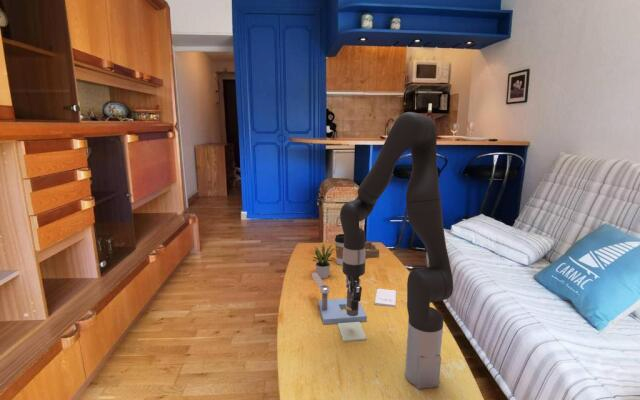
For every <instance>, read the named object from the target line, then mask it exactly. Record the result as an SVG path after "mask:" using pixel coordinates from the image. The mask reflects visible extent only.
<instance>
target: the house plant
mask: <svg viewBox="0 0 640 400" xmlns="http://www.w3.org/2000/svg"><path fill="white" fill-rule="evenodd" d="M335 244H336V242H335V243H331V245H329V246H328V247H327V249H326V247H325V244H324V243H323V242H321V244H320V243H319V242H318V245H319V246H320V249H321V251H320V250H319V248H318V247H317V246H316V245H314V244H312V246H313V247H314V249H315V251H314V256H313V255H311V257H312V258H314V259H312V260H311V261H312V262H315V270H316V272H317V274H318V275H319V277H320V278H321V279H322V280H323V279H327V278H329V274H330V268H331V262H334V260H336V259H335V257H331V255H332V254H333V253H334V252H335V251H336V248H335V247H333V246H334V245H335ZM332 247H333V248H332ZM334 263H335V262H334Z"/></svg>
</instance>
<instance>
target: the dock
mask: <svg viewBox="0 0 640 400" xmlns="http://www.w3.org/2000/svg"><path fill="white" fill-rule="evenodd" d="M328 294H329V293H327V294H323V293H321V298H322V299H319V300H318V303H317V305H318V308H319V309H318V310H319V312H320V316H321V320H322V324H323V325H335V324H338V323H350V322H360V323H361V322H367V317H368V315H367V314H366V311H365V310H364V308H363V306H362V303H361V300H360V301H359V309H358V315H357V316H349V315H347V308H346V304H347V297H346V298H331V299H329V298H328ZM342 310H343V311H342ZM344 310H345V311H344Z"/></svg>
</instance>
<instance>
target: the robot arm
mask: <svg viewBox="0 0 640 400" xmlns="http://www.w3.org/2000/svg"><path fill="white" fill-rule="evenodd" d="M436 127H437V126H436V123H435V122H434V120H433V119H432V118H431V117H430V116H428V115H425V114H422V113H417V112H413V111H407V112H404V113H401V114H400V115H399V116H398V117H397V118H396V119H395V121H394V123H393V124H392V126H391V128H390V131H389V132H388V134H387V137H386V139H385V141H384V143H383V145H382V147H381V149H380V151H379V153H378V156H377V157H376V159H375V162H374V163H373V166H371V169H369V171H368V173H367V175H366V176H365V177H364V179H363V180H362V182H361V183H360V185H359V187H358V189H357V196H356V198H355V199H354V200H351V201H348V202H345V203H344V204H343V205H342V206H341V208H340V211H339V219H340V224H341V229H342V232H343V234H344V248H343V265H342V268H341V269H342V273H343V274H344V275H345V282H346V283H345V286H346V288H347V291H348V290H349V292H350V293H351V310H352V311H353V310H358V301H360V302H361V300H362V299H361V298H362V297H361V296H362V291H363V288H362V286H361V279H360V278H361V276H363V275H364V274H365V273H366V258H365V256H366V252H365V250H366V249H365V242H366V231H365V230H364V229H363V228H360V222H362V221H365V220H366V219H367V218H369V216H370V215H371V213H372V212H373V210H374V208H375V206H376V203H377V201H379V198H380V197H381V196H382V194H384V191H386V190H387V187H388V186H390V185H389V184H390V182H391V180H392V178H393V174H394V170H395V167H396V165H397V162H398V161H399V159H400V157H401V156H402V155H403V154H404V153H405V152H406V151H407V149H409V148H410V149H409V150H410V153H411V161H412V162H411V175H410V178H409V180H408V184H407V187H406V192H405V206H406V207H405V208H406V214H407V221H408V223H409V225H410V227H411V229H412V230H413V231H414V233H415V234H416V235H417V236H418V238H419V239H420V241H421V242H422V244H423V245H424V247H425V251H426V253H427V254H426V255H427V259H428V266H427V267H420V268H415V269H412V270H411V271H410V272H409V274H408V276H407V282H406V291H407V292H406V309H407V315H408V321H407V322H408V323H407V336H406V354H405V369H404V374H405V375H404V376H405V378H406V380H407V382H409V383H410V384H412V385H414V386H415V387H416V388H417V389H418V390H421V389H432V388H439V386H440V376H441V367H442V365H441V364H442V356H441V354H442V343H443V341H442V340H443V332H444V331H443V330H444V316H443V314H442V312H440V311H439V310H438V309H436V308H434V307H432V306H431V303H436V302H441V301H444V300H448V299H450V298H451V296H452V295H453V292H454V278H453V273H452V272H453V271H452V268H451V262H450V259H449V254H448V253H449V252H448V249H447V245H446V244H447V243H446V242H447V241H446V237H445V229H444V220H443V219H444V218H443V208H442V197H441V191H440V182H439V180H440V179H439V171H438V164H437V163H438V162H437V149H438V148H437V128H436ZM352 289H353V291H352ZM347 291H346V292H347Z"/></svg>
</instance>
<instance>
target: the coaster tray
mask: <svg viewBox="0 0 640 400" xmlns="http://www.w3.org/2000/svg"><path fill="white" fill-rule="evenodd" d="M365 252H366V256H365V259H373V258H374V259H375V258H376V259H377V258H380V250H379V248H378V247H377V246H376V245H375V243H374V242H373V241H365Z"/></svg>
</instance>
